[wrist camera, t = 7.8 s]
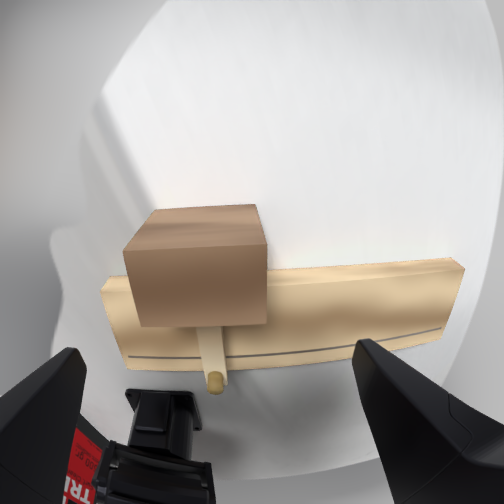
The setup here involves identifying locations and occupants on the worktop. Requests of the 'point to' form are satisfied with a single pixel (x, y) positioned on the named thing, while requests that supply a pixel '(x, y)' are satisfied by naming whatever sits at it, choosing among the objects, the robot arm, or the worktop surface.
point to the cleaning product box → (83, 463)
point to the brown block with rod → (200, 275)
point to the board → (303, 317)
